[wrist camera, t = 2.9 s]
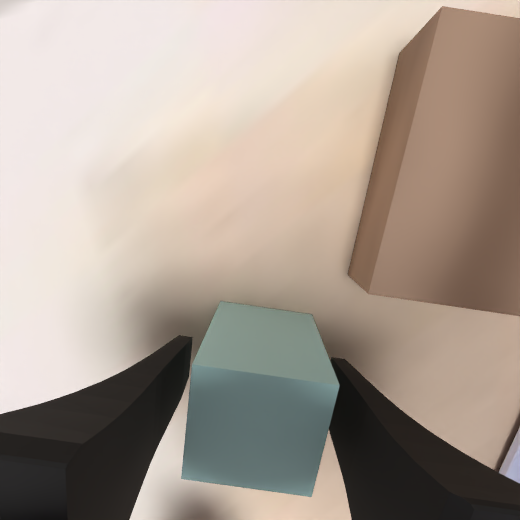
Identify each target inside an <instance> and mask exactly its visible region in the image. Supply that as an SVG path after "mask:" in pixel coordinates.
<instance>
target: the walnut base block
mask: <svg viewBox="0 0 520 520" xmlns="http://www.w3.org/2000/svg"><path fill="white" fill-rule="evenodd" d="M348 275H349V276H350V277H351V278H352V279H353V280H354V281H355V282H356V283H357V284H358V285H359V286H360V287H361V288H363V289H364V290H365V291H366V292H367V293H368V294H373V295H380V296H386V297H393V298H400V299H407V300H414V301H420V302H427V303H434V304H441V305H448V306H455V307H461V308H468V309H475V310H482V311H489V312H496V313H502V314H509V315H516V316H520V18H514V17H507V16H501V15H495V14H488V13H482V12H475V11H469V10H463V9H456V8H450V7H444V6H442V7H441V8H440V9H439V11H438V12H437V13H436V14H435V15H434V16H433V17H432V18H431V19H430V20H429V21H428V23H427V24H426V25H425V26H424V27H423V28H422V29H421V30H420V31H419V32H418V34H417V35H416V36H415V37H414V38H413V39H412V40H411V41H410V42H409V43H408V44H407V46H406V47H405V48H404V49H403V50H402V51H401V52H400V54H399V58H398V62H397V67H396V71H395V75H394V79H393V84H392V88H391V92H390V96H389V101H388V105H387V109H386V114H385V118H384V122H383V126H382V131H381V135H380V139H379V143H378V148H377V152H376V156H375V161H374V165H373V169H372V173H371V178H370V182H369V186H368V190H367V195H366V199H365V203H364V207H363V212H362V216H361V220H360V225H359V229H358V233H357V237H356V242H355V246H354V250H353V254H352V259H351V263H350V267H349V272H348Z"/></svg>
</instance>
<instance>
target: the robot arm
mask: <svg viewBox="0 0 520 520" xmlns="http://www.w3.org/2000/svg"><path fill="white" fill-rule="evenodd" d="M192 338H193V337H187V336H180V335H179V336H178V337H176V338H175V339H173V340H172V341H170V342H169V343H167V344H166V345H165V346H163V347H162V348H160V349H159V350H157V351H156V352H154V353H153V354H151V355H150V356H148V357H146V358H145V359H143V360H141V361H140V362H138V363H136V364H135V365H133V366H131V367H130V368H128V369H126V370H124V371H122V372H120V373H118V374H116V375H114V376H112V377H110V378H108V379H106V380H104V381H102V382H99V383H97V384H94V385H92V386H89V387H87V388H84V389H82V390H79V391H77V392H74V393H72V394H69V395H66V396H63V397H60V398H57V399H54V400H51V401H48V402H44V403H41V404H38V405H34V406H31V407H27V408H23V409H19V410H15V411H11V412H7V413H3V414H0V520H129V519H130V516H131V513H132V511H133V508H134V505H135V503H136V500H137V497H138V494H139V492H140V489H141V486H142V484H143V481H144V479H145V476H146V473H147V471H148V468H149V466H150V463H151V460H152V458H153V456H154V454H155V451H156V449H157V447H158V445H159V443H160V441H161V439H162V437H163V435H164V433H165V430H166V428H167V426H168V424H169V422H170V420H171V418H172V416H173V414H174V412H175V410H176V408H177V406H178V404H179V402H180V400H181V397H182V395H183V392H184V389H185V386H186V383H187V380H188V377H189V370H190V360H191V349H192ZM330 362H331V364H332V367H333V370H334V372H335V375H336V377H337V380H338V382H339V385H340V386H339V390H338V394H337V398H336V402H335V406H334V410H333V414H332V418H331V422H330V426H329V431H330V434H331V438H332V441H333V445H334V448H335V451H336V455H337V458H338V462H339V465H340V469H341V472H342V476H343V480H344V484H345V488H346V493H347V498H348V503H349V508H350V513H351V518H352V520H520V427H519V429H518V432H517V434H516V436H515V438H514V440H513V442H512V445H511V447H510V449H509V451H508V453H507V455H506V458H505V460H504V462H503V464H502V466H501V468H500V470H499V473H498V472H496V471H494V470H492V469H491V468H489V467H487V466H485V465H484V464H482V463H480V462H478V461H476V460H475V459H473V458H471V457H469V456H468V455H466V454H464V453H463V452H461V451H459V450H458V449H456V448H454V447H453V446H451V445H450V444H448V443H447V442H445V441H444V440H442V439H440V438H439V437H437V436H436V435H434V434H433V433H431V432H430V431H429V430H427V429H426V428H424V427H423V426H421V425H420V424H419V423H417V422H416V421H415V420H413V419H412V418H411V417H409V416H408V415H407V414H405V413H404V412H403V411H402V410H400V409H399V408H398V407H397V406H396V405H394V404H393V403H392V402H391V401H390V400H388V399H387V398H386V397H385V396H384V395H383V394H382V393H380V392H379V391H378V390H377V389H376V388H375V387H374V386H373V385H372V384H371V383H370V382H369V381H367V380H366V379H365V378H364V377H363V376H362V375H361V374H360V373H359V372H358V371H357V370H356V369H355V368H354V367H353V366H352V365H351V364H350V363H348V362H347V361H346V360H345V359H340V358H333V357H331V360H330Z"/></svg>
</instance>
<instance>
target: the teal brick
mask: <svg viewBox="0 0 520 520" xmlns="http://www.w3.org/2000/svg"><path fill="white" fill-rule="evenodd" d="M339 386H340V385H339V382H338V380H337V377H336V375H335V372H334V370H333V367H332V364H331V362H330V359H329V357H328V354H327V352H326V349H325V347H324V344H323V341H322V339H321V336H320V334H319V331H318V329H317V326H316V323H315V321H314V318H313V316H312V314H306V313H299V312H292V311H285V310H278V309H271V308H265V307H258V306H251V305H244V304H237V303H230V302H223V301H220V303H219V306H218V308H217V310H216V312H215V315H214V317H213V319H212V321H211V323H210V326H209V328H208V330H207V332H206V335H205V337H204V339H203V341H202V343H201V346H200V348H199V350H198V352H197V355H196V357H195V359H194V361H193V364H192V371H191V382H190V392H189V403H188V413H187V424H186V434H185V445H184V455H183V466H182V476H181V479H186V480H193V481H200V482H207V483H215V484H222V485H229V486H236V487H243V488H251V489H258V490H265V491H272V492H279V493H287V494H294V495H301V496H308V497H312V493H313V489H314V485H315V481H316V477H317V473H318V469H319V465H320V461H321V457H322V453H323V449H324V445H325V441H326V438H327V434H328V430H329V426H330V422H331V418H332V414H333V410H334V406H335V402H336V398H337V394H338V390H339Z"/></svg>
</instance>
